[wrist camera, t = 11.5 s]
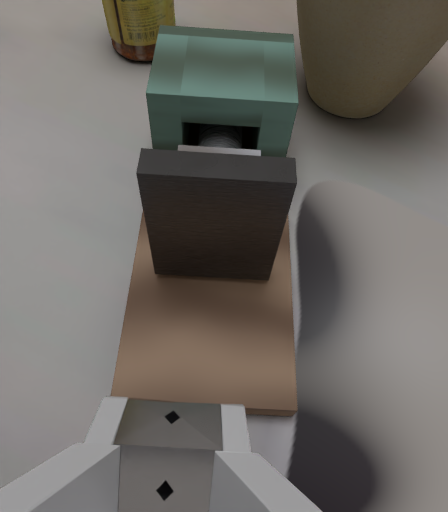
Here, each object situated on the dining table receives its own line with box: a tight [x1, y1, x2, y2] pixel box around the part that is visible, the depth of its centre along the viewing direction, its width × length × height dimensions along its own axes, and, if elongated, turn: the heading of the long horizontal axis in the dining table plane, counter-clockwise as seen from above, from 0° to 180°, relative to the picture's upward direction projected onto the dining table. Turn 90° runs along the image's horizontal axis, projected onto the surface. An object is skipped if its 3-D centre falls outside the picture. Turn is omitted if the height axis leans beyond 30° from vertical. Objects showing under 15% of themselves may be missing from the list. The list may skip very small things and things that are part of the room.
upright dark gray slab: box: [137, 123, 297, 281], centre depth 26 cm, size 14×7×9 cm, turn 178°
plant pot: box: [297, 0, 448, 118], centre depth 33 cm, size 15×15×16 cm
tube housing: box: [111, 25, 298, 416], centre depth 27 cm, size 23×10×8 cm, turn 178°
